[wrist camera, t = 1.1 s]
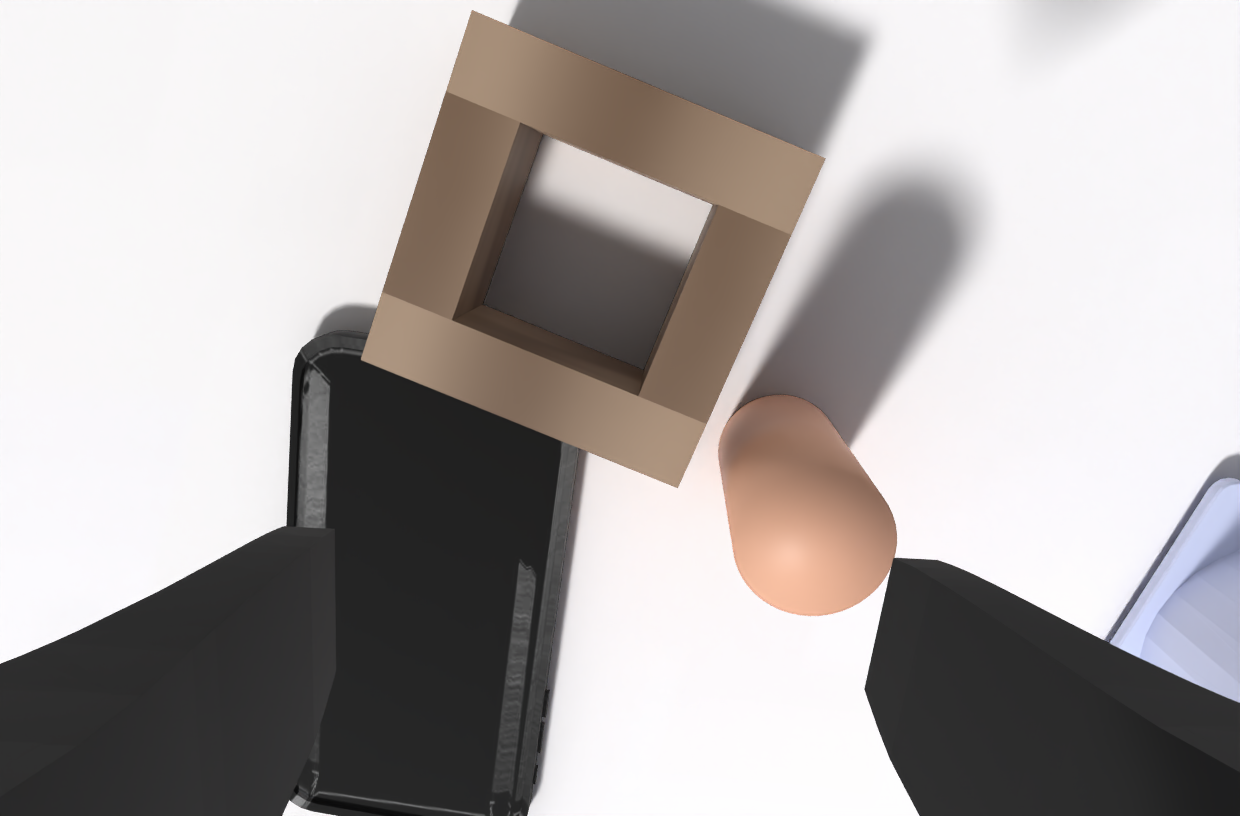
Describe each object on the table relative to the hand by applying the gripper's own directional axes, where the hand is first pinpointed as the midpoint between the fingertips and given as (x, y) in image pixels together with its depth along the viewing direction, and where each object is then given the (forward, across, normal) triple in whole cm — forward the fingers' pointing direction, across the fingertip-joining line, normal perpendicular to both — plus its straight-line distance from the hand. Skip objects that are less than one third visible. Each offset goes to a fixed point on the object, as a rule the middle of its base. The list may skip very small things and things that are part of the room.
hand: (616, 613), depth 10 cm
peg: (+11, -5, +2) cm, 12 cm away
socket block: (+12, 0, -3) cm, 12 cm away
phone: (+13, +4, +7) cm, 15 cm away
